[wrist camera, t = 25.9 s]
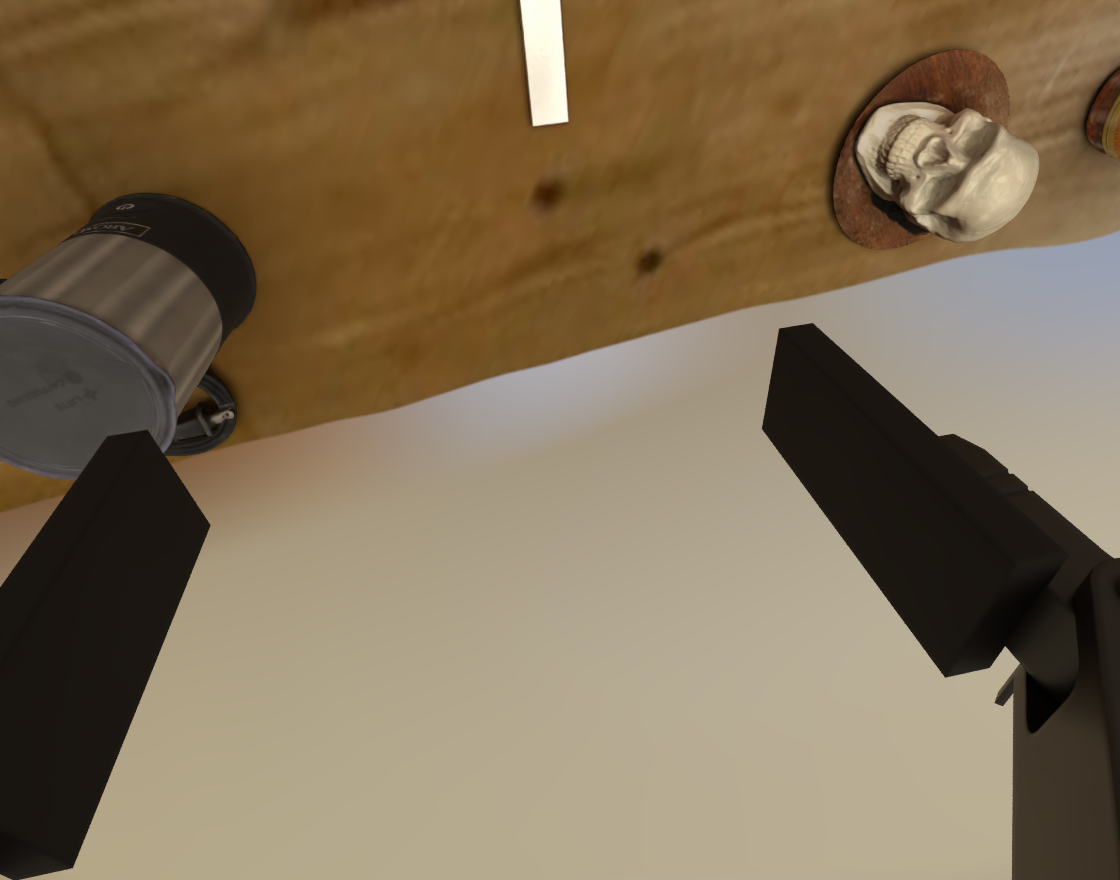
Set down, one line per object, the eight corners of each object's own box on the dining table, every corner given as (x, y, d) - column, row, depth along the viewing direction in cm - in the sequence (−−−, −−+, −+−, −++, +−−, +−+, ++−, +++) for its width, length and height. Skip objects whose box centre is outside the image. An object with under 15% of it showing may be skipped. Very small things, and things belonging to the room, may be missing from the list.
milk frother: (189, 164, 33) (49, 258, 21) (346, 382, 43) (309, 528, 31) (-23, 261, 34) (-263, 400, 23) (176, 451, 44) (78, 617, 32)
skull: (787, 215, 39) (946, 133, 30) (819, 87, 41) (976, -26, 32) (901, 295, 44) (1068, 246, 34) (924, 177, 46) (1088, 101, 36)
